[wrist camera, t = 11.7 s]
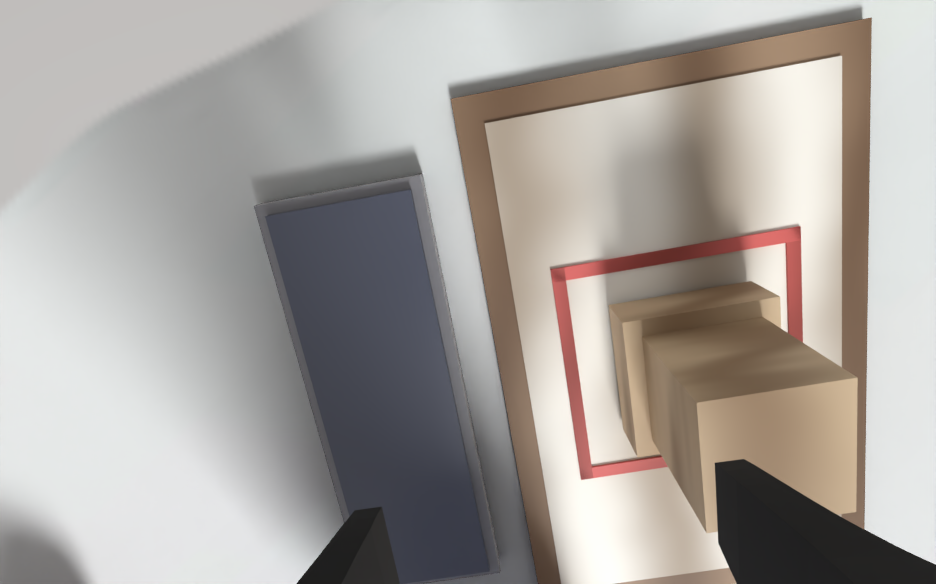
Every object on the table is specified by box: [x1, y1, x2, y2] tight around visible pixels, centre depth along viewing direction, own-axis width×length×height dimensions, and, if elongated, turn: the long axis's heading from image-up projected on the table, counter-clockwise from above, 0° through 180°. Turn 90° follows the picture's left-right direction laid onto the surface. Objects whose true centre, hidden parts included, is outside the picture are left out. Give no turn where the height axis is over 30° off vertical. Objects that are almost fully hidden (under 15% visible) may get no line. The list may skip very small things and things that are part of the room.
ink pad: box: [254, 174, 500, 584], centre depth 22 cm, size 6×17×1 cm, turn 10°
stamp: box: [608, 281, 858, 533], centre depth 18 cm, size 5×5×7 cm
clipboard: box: [451, 18, 872, 584], centre depth 22 cm, size 14×22×1 cm, turn 10°
